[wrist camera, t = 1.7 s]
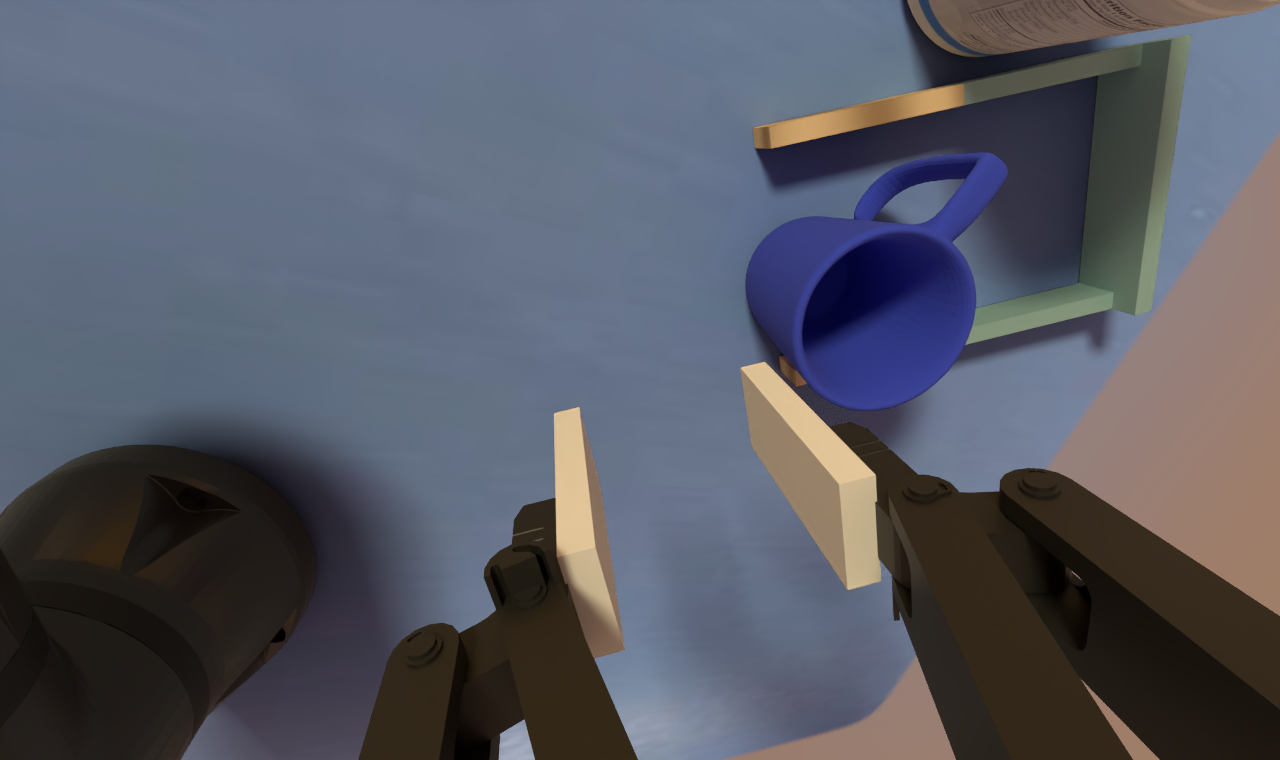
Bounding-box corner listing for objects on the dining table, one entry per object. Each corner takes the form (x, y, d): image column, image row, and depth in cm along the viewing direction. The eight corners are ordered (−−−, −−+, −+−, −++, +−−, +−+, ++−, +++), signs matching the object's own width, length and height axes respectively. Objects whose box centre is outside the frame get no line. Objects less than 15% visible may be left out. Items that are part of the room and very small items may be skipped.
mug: (937, 198, 34) (1081, 220, 25) (803, 367, 37) (888, 443, 27) (835, 106, 31) (955, 92, 22) (699, 295, 34) (755, 352, 25)
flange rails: (781, 371, 37) (796, 386, 34) (752, 128, 31) (768, 126, 29) (934, 333, 37) (960, 346, 35) (934, 87, 32) (964, 83, 29)
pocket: (934, 333, 37) (977, 354, 33) (934, 87, 32) (984, 80, 28) (1092, 294, 38) (1151, 311, 34) (1117, 46, 32) (1191, 34, 28)
